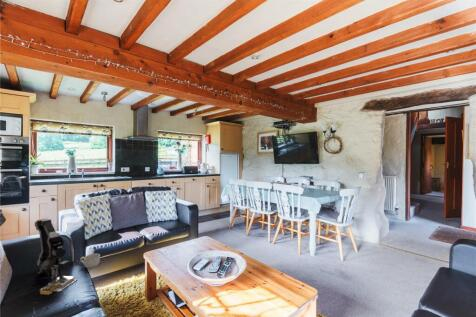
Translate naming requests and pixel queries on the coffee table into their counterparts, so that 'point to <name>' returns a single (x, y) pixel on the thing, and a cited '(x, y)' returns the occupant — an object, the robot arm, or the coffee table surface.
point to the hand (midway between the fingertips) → (54, 276)
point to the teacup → (91, 260)
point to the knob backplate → (57, 285)
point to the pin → (54, 272)
